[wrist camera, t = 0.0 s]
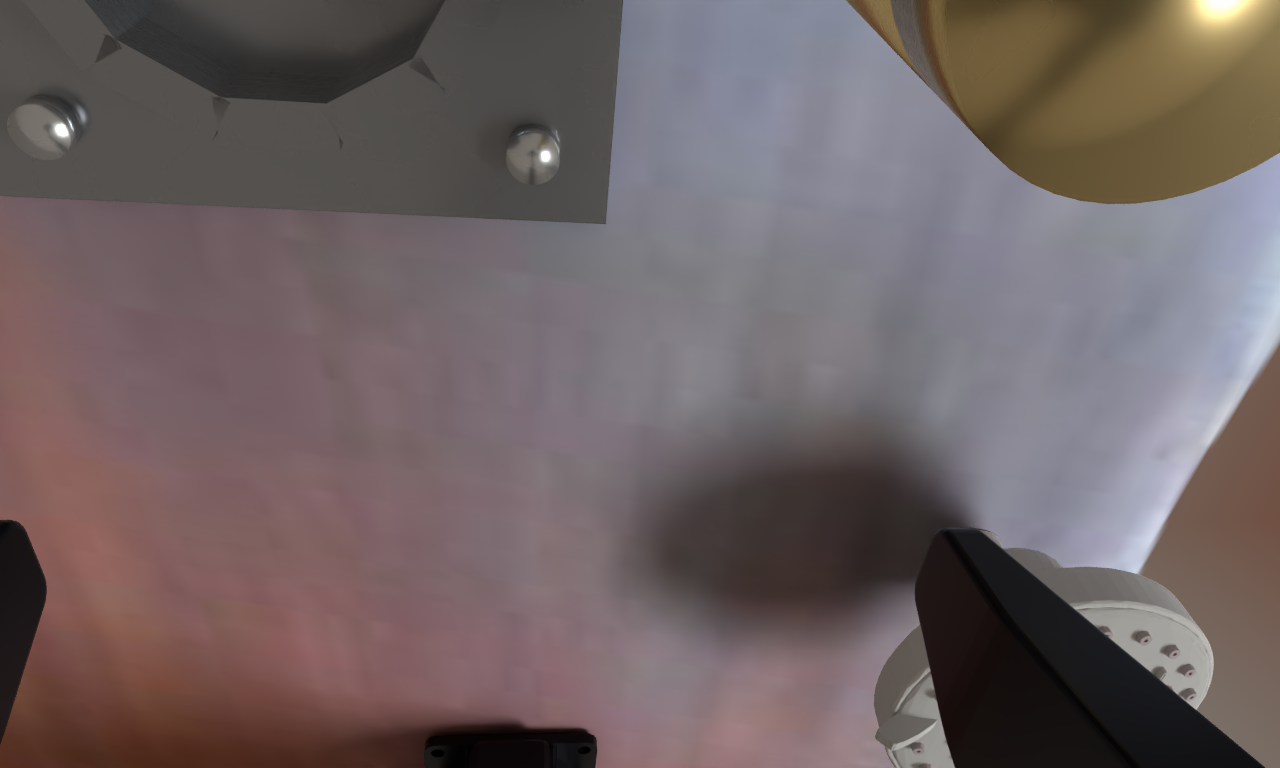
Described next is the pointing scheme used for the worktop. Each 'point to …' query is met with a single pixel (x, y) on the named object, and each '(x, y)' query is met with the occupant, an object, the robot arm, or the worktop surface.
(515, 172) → the floor flange
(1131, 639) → the showerhead
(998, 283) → the worktop surface
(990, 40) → the brass cylinder
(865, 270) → the worktop surface
